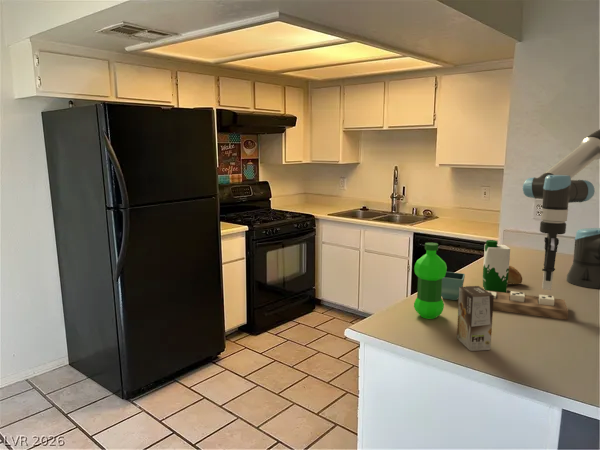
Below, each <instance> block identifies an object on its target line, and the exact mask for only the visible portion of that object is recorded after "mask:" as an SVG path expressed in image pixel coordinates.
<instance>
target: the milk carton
mask: <svg viewBox="0 0 600 450" xmlns="http://www.w3.org/2000/svg"><path fill="white" fill-rule="evenodd" d="M483 250H484V253H483V254H484V255H483V263H482V264H483V266H482V267H483V268H482V288H483V287H484V288H483V289H484V290H487V291H495V292H504V293H507V289H508V274H509V266H510V260H511V258H510V255H511V247H509V246H508V245H506V244H498V240H493V239H487V240H486V242H485V244H484V248H483Z"/></svg>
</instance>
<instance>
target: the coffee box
mask: <svg viewBox="0 0 600 450" xmlns="http://www.w3.org/2000/svg"><path fill="white" fill-rule="evenodd" d="M493 302H494V295H492V294H491V293H489V292H487V291H486V290H485V289H484V288H483V287H481V286H479V285H469V286H467V285H466V286H463V287H459V298H458V306H457V307H458V308H457V309H458V310H457V324H456V325H457V327H456V328H457V329H456V330H457V331H456V339H457V340H458V341H459V342H460V343H461V344H462V345H463V346H464V347H466V349H467V350H469V351H470V352H475V351H476V352H477V351H490V350H491V345H492V344H491V343H492V332H493V331H492V330H493V329H492V328H493V316H494V315H493V313H494V310H493Z"/></svg>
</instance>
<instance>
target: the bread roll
mask: <svg viewBox="0 0 600 450" xmlns="http://www.w3.org/2000/svg"><path fill="white" fill-rule="evenodd" d="M521 283H523V276H522V274H521V273H520V272H519V271H518V269H517V268H515V267H513V266H512V265H509V274H508V283H507V285H520V284H521Z"/></svg>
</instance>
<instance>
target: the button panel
mask: <svg viewBox="0 0 600 450" xmlns="http://www.w3.org/2000/svg"><path fill="white" fill-rule="evenodd" d="M486 291H487V290H486ZM490 292H495V291H490ZM510 293H511V292H506V293H504V292H496V299H495V298H494V302H493V311H500V312H508V313H516V314H524V315H529V316H539V317H545V318H552V319H559V320H568V318H569V309H568V307H567V303H566V301H565V299H562V298H561V299H560V298H554V306H551V305H543V304H538V301H539V296H537V295H529V294H528V295H527V294H525V298H524V302H519V301H511V300H510Z"/></svg>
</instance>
